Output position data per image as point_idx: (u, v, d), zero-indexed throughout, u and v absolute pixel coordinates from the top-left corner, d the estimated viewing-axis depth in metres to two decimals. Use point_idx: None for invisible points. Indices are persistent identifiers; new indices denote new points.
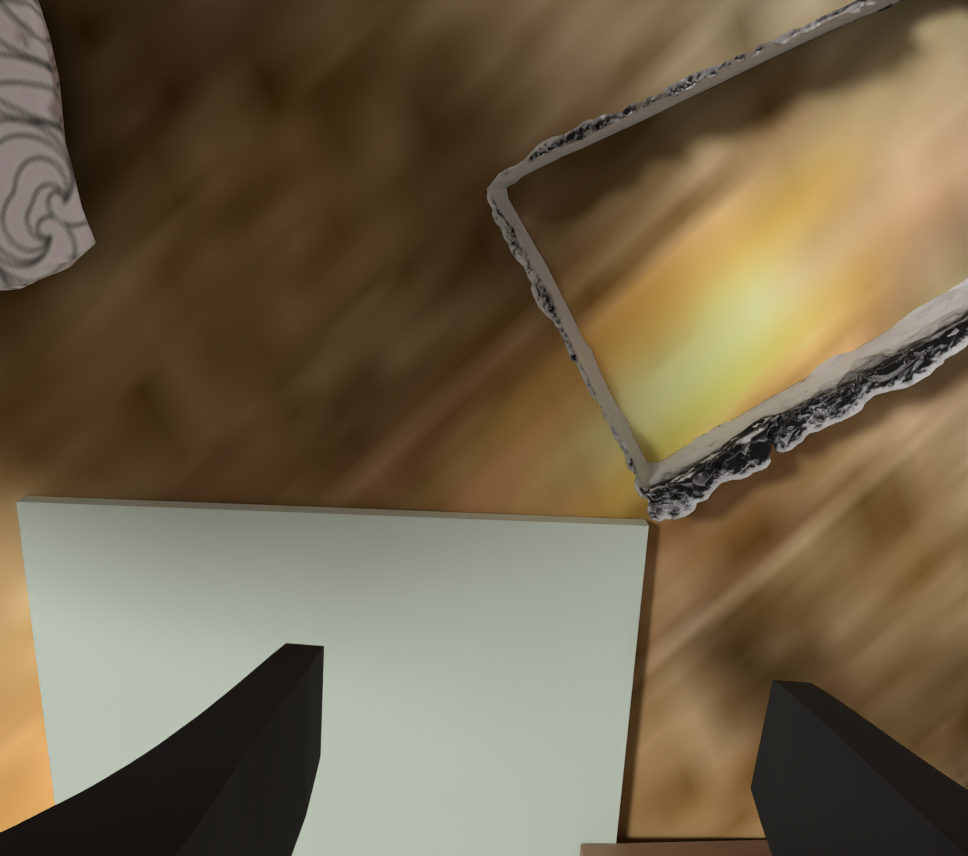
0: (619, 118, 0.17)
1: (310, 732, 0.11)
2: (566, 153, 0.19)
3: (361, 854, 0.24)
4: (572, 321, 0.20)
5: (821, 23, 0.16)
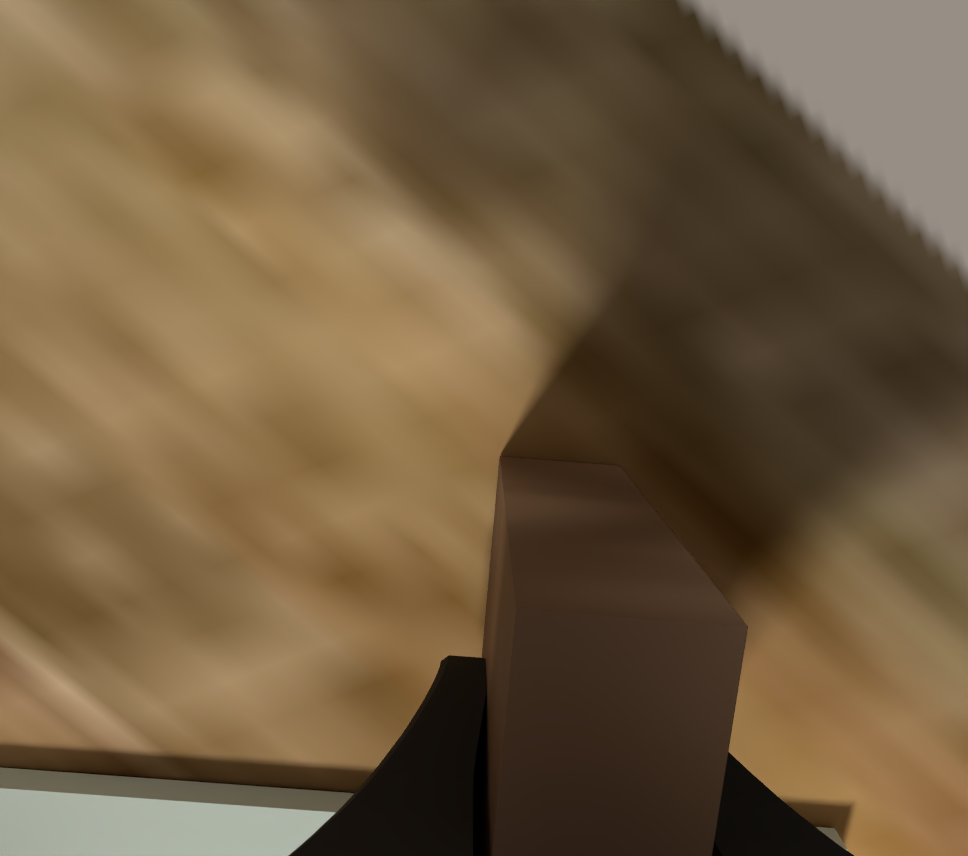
0: None
1: None
2: None
3: None
4: None
5: None
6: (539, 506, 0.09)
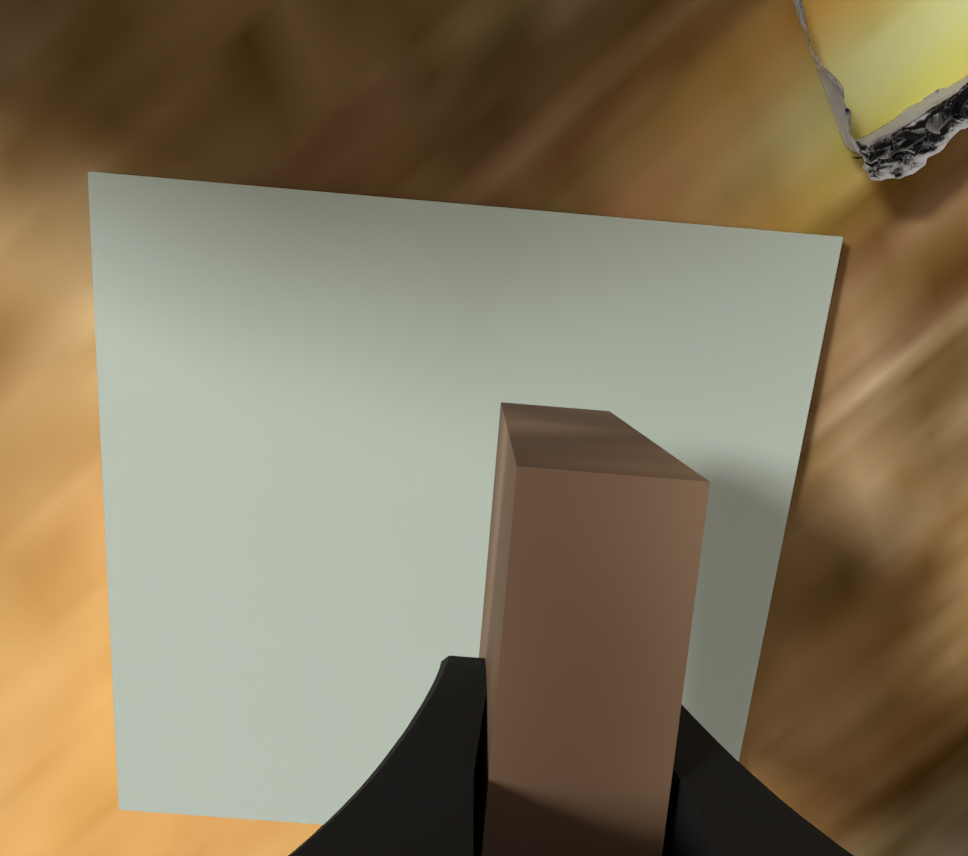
0: None
1: None
2: None
3: (463, 649, 0.20)
4: None
5: None
6: (536, 425, 0.11)
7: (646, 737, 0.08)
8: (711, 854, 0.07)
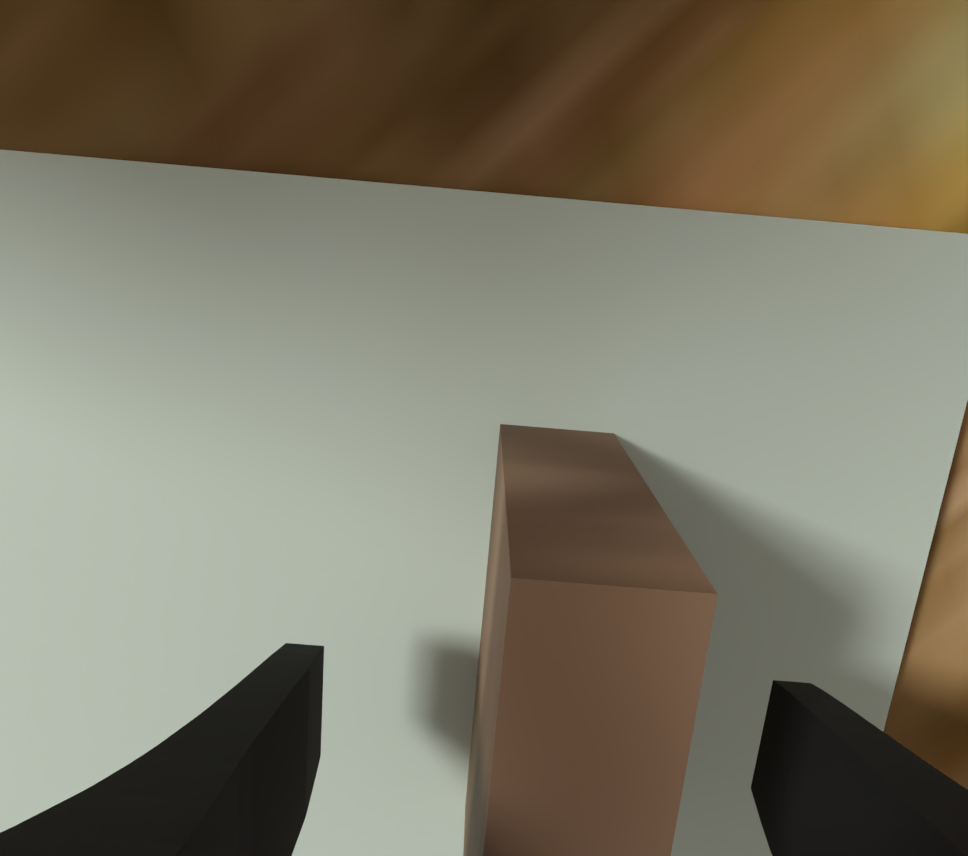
0: None
1: (310, 732, 0.11)
2: None
3: (454, 804, 0.15)
4: None
5: None
6: (534, 476, 0.10)
7: (642, 837, 0.08)
8: None
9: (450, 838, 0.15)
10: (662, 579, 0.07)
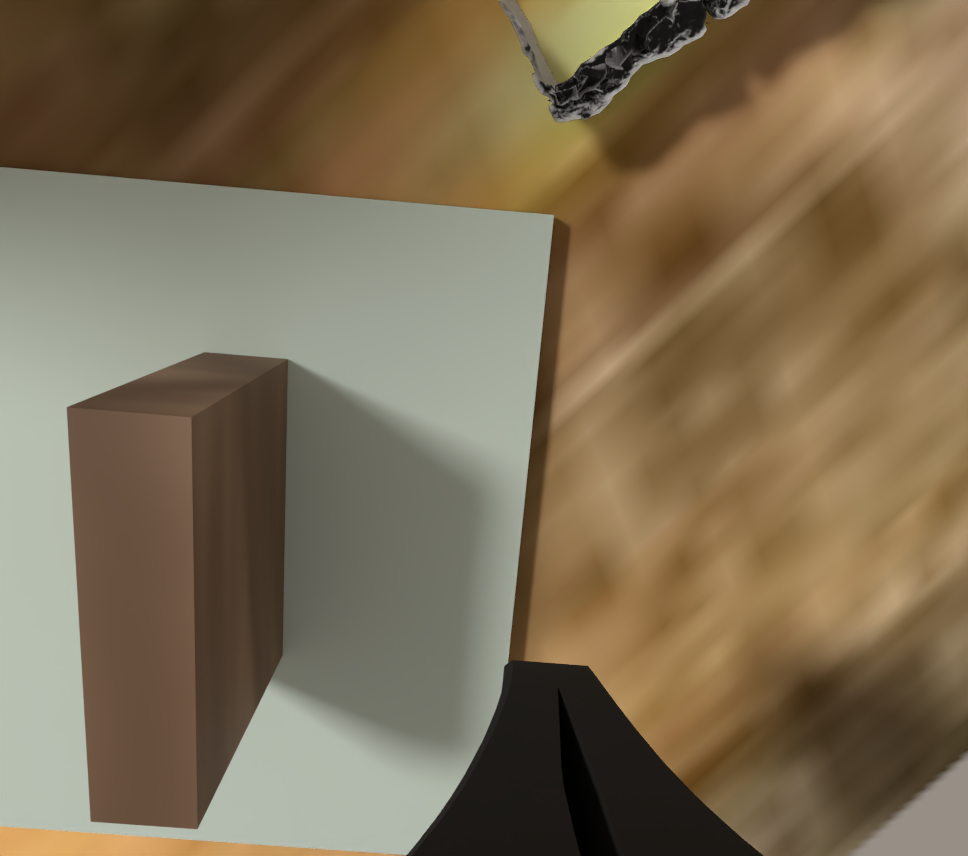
0: None
1: None
2: None
3: None
4: None
5: None
6: (174, 374, 0.15)
7: (173, 578, 0.13)
8: (613, 847, 0.07)
9: None
10: (167, 411, 0.12)
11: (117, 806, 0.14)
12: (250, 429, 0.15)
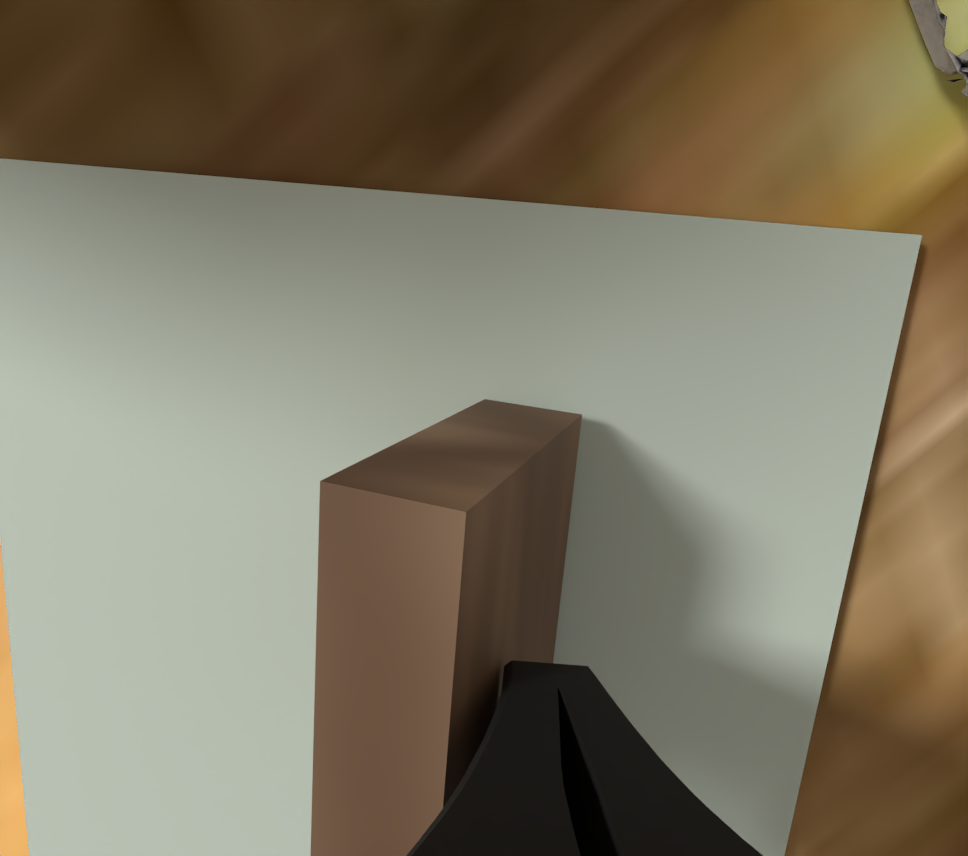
0: None
1: None
2: None
3: None
4: None
5: None
6: (449, 432, 0.12)
7: (425, 715, 0.10)
8: (613, 847, 0.07)
9: None
10: (436, 498, 0.09)
11: None
12: (533, 510, 0.12)
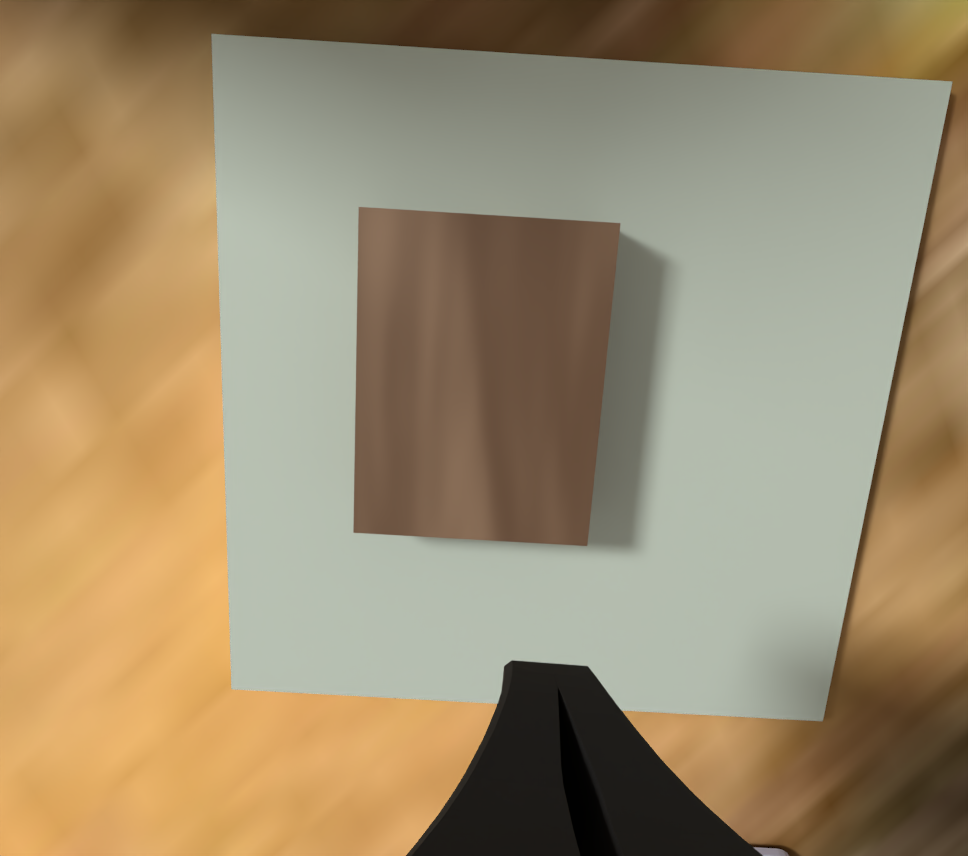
0: None
1: None
2: None
3: None
4: None
5: None
6: None
7: None
8: (613, 847, 0.07)
9: None
10: None
11: None
12: (491, 260, 0.17)
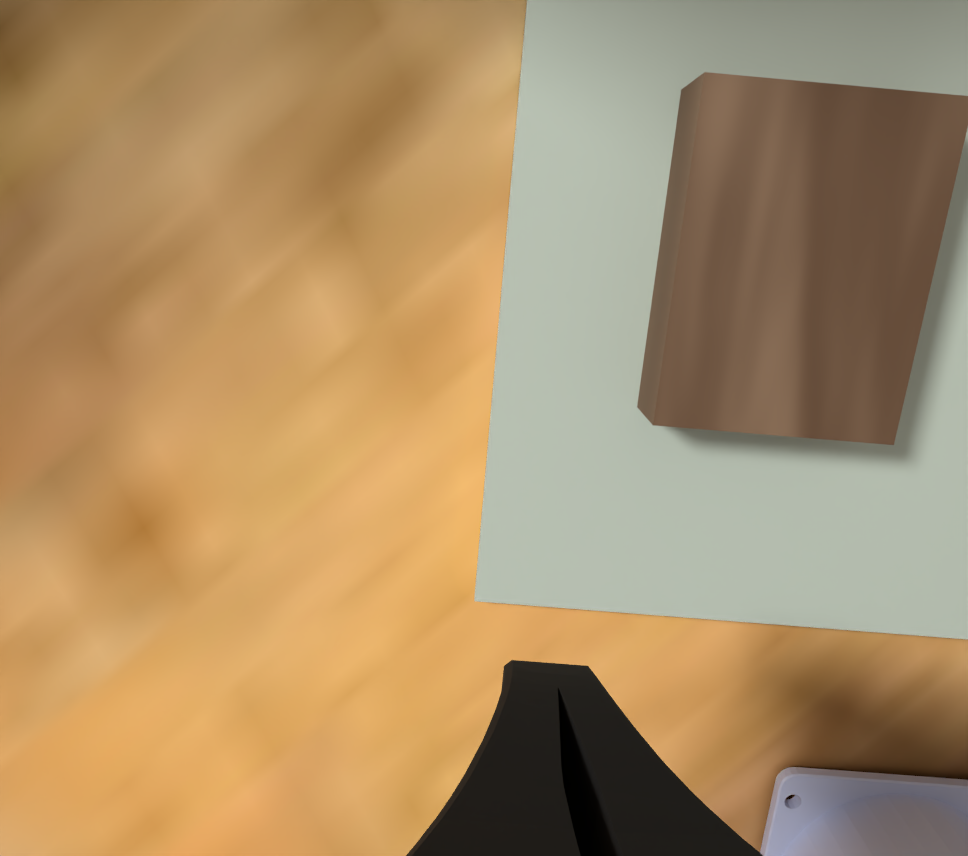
0: None
1: None
2: None
3: None
4: None
5: None
6: None
7: (680, 208, 0.17)
8: (613, 847, 0.07)
9: (842, 451, 0.20)
10: None
11: (642, 397, 0.19)
12: (834, 134, 0.16)
